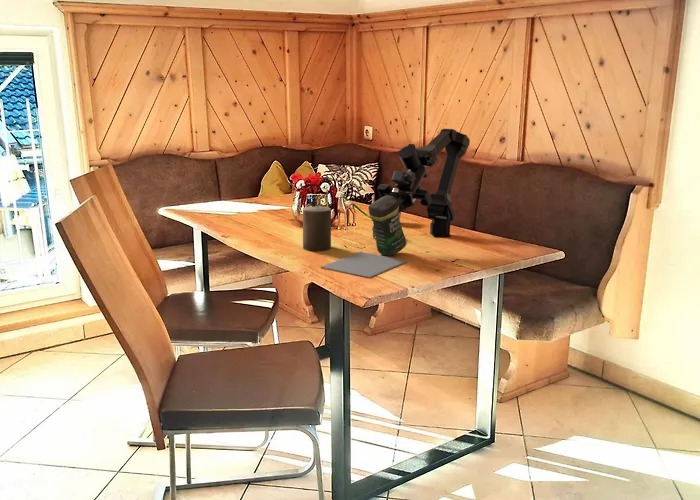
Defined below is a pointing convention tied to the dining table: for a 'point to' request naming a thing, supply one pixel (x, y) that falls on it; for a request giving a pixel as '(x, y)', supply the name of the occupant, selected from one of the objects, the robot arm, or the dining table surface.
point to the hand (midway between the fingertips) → (393, 214)
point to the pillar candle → (316, 228)
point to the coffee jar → (387, 225)
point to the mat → (364, 264)
